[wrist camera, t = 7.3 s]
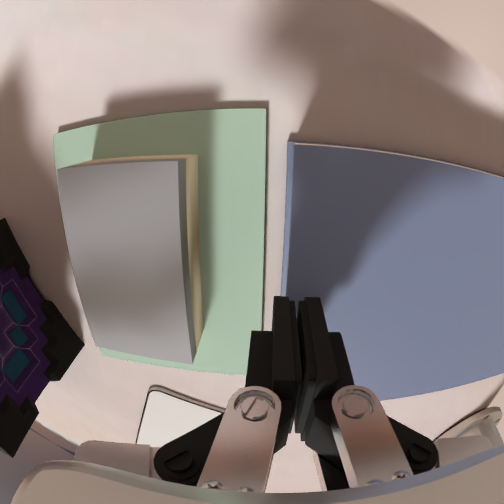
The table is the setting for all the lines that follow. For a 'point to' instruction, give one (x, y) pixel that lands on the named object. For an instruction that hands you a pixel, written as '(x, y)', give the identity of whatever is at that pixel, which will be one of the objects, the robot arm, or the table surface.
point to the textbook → (399, 263)
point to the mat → (203, 214)
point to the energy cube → (26, 344)
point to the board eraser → (136, 252)
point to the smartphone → (171, 416)
